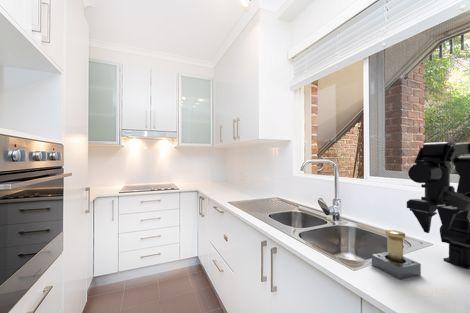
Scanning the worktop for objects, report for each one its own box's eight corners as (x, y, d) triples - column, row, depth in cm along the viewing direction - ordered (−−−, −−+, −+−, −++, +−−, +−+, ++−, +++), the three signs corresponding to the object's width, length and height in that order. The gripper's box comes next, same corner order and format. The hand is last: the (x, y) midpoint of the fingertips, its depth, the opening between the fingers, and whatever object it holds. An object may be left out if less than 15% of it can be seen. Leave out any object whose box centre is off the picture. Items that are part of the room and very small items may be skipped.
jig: (391, 261, 74) (391, 251, 74) (420, 275, 65) (420, 263, 65) (371, 265, 71) (371, 254, 71) (399, 279, 62) (399, 267, 62)
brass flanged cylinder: (392, 264, 71) (392, 229, 71) (409, 272, 66) (409, 234, 67) (381, 267, 70) (381, 230, 70) (398, 275, 65) (397, 236, 65)
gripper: (449, 186, 56) (449, 244, 56) (491, 184, 62) (491, 237, 62) (405, 181, 67) (405, 230, 67) (444, 180, 72) (444, 226, 72)
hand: (436, 231), depth 67 cm, fingers open, 9 cm apart
